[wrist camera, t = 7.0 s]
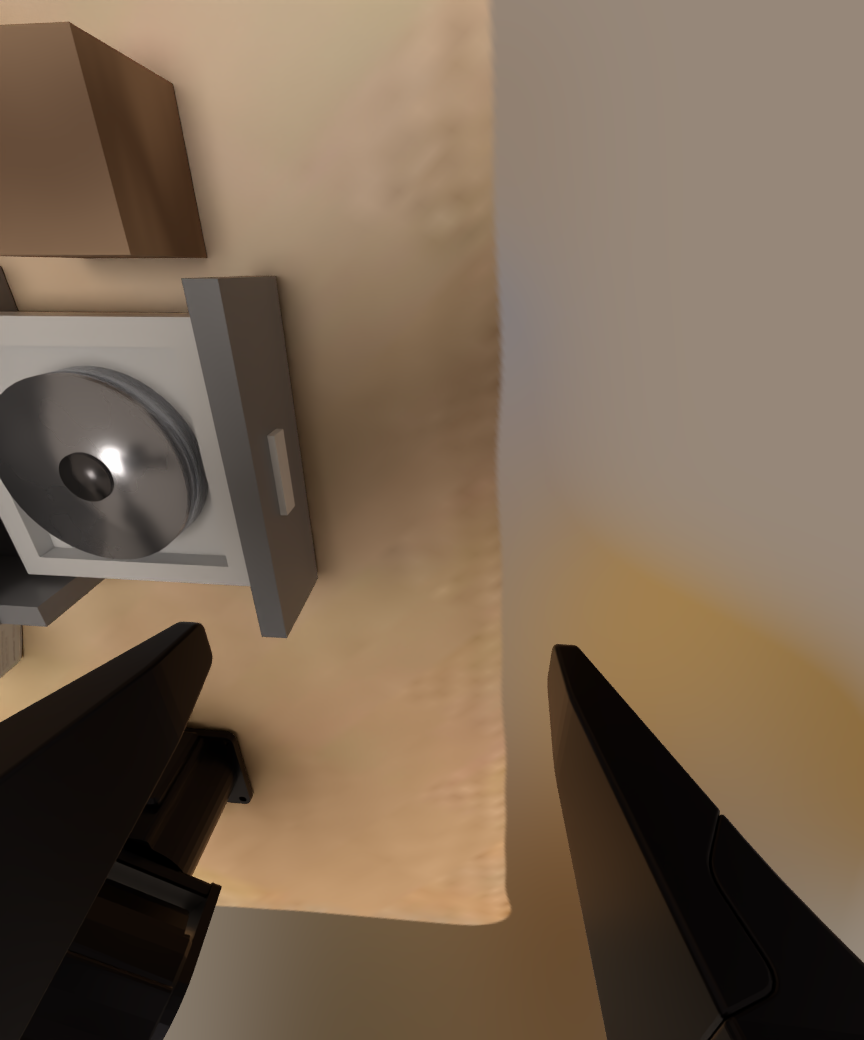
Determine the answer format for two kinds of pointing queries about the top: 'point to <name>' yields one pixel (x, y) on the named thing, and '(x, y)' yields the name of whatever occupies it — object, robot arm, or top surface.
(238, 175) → the top surface
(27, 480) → the disc
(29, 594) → the housing
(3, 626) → the skincare box
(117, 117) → the walnut block
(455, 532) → the top surface
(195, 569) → the tray
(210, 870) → the top surface
